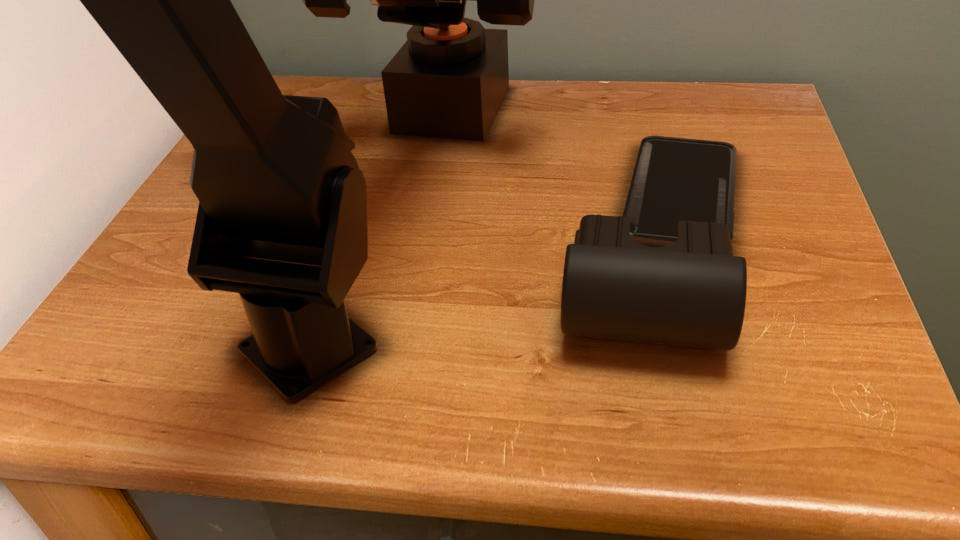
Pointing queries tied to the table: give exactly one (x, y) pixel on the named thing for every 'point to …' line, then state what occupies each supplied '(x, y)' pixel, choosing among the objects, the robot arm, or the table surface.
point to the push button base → (447, 84)
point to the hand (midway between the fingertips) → (445, 24)
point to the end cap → (654, 285)
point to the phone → (680, 187)
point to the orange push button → (446, 32)
